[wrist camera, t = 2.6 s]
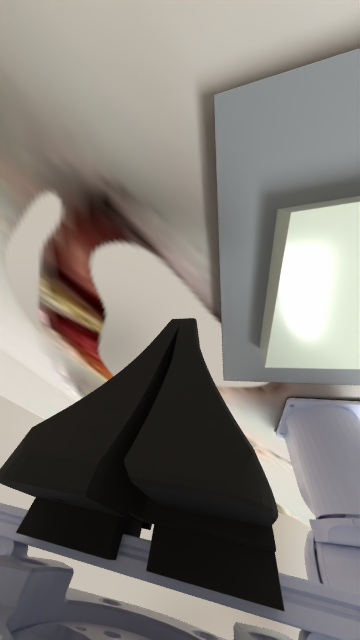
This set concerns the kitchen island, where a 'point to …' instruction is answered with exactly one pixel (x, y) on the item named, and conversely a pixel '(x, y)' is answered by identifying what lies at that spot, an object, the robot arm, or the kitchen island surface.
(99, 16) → the kitchen island surface
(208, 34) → the kitchen island surface
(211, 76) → the kitchen island surface
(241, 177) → the raised plate
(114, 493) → the robot arm
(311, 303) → the tile
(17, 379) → the kitchen island surface
